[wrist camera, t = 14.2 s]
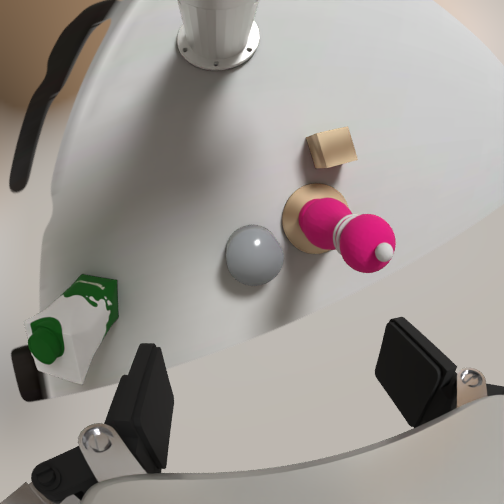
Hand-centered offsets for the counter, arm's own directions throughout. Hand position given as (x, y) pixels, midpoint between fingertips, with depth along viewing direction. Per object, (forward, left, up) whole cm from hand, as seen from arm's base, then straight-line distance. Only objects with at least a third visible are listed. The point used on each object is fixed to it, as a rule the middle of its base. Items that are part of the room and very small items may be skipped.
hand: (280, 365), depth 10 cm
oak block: (-12, +14, -33) cm, 37 cm away
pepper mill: (-1, +13, -32) cm, 34 cm away
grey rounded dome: (+4, +3, -33) cm, 33 cm away
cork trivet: (-1, +13, -33) cm, 35 cm away
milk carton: (+12, -23, -33) cm, 42 cm away
